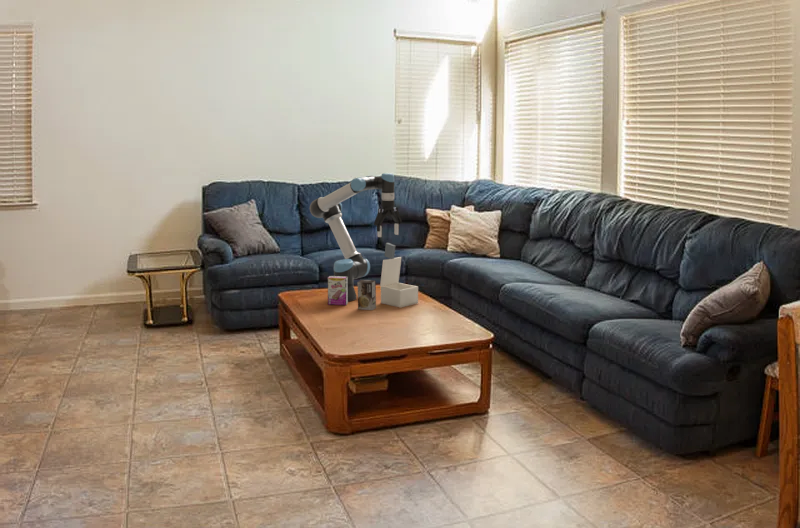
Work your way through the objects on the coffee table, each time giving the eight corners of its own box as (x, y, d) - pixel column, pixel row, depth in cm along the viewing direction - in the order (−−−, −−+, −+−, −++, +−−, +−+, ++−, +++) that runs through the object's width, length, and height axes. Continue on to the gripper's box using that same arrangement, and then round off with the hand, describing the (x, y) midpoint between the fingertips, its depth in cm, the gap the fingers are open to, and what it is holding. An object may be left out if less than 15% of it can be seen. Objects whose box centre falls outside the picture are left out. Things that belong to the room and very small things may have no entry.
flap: (380, 286, 455) (373, 283, 459) (398, 282, 466) (391, 279, 470) (385, 247, 448) (378, 244, 452) (403, 244, 459) (395, 241, 463)
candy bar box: (327, 305, 452) (327, 277, 449) (329, 303, 457) (328, 275, 454) (346, 305, 451) (346, 277, 448) (348, 303, 456) (347, 276, 453)
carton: (380, 303, 457) (380, 286, 455) (398, 298, 468) (398, 282, 466) (400, 307, 446) (400, 290, 444) (418, 303, 457) (418, 286, 455)
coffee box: (376, 307, 445) (376, 280, 442) (372, 310, 439) (372, 282, 436) (361, 306, 448) (361, 279, 445) (357, 309, 442) (357, 281, 439)
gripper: (376, 201, 444) (376, 238, 448) (407, 198, 461) (407, 234, 465) (367, 200, 449) (368, 237, 453) (399, 198, 466) (399, 233, 470)
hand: (388, 235), depth 459 cm, fingers open, 13 cm apart
